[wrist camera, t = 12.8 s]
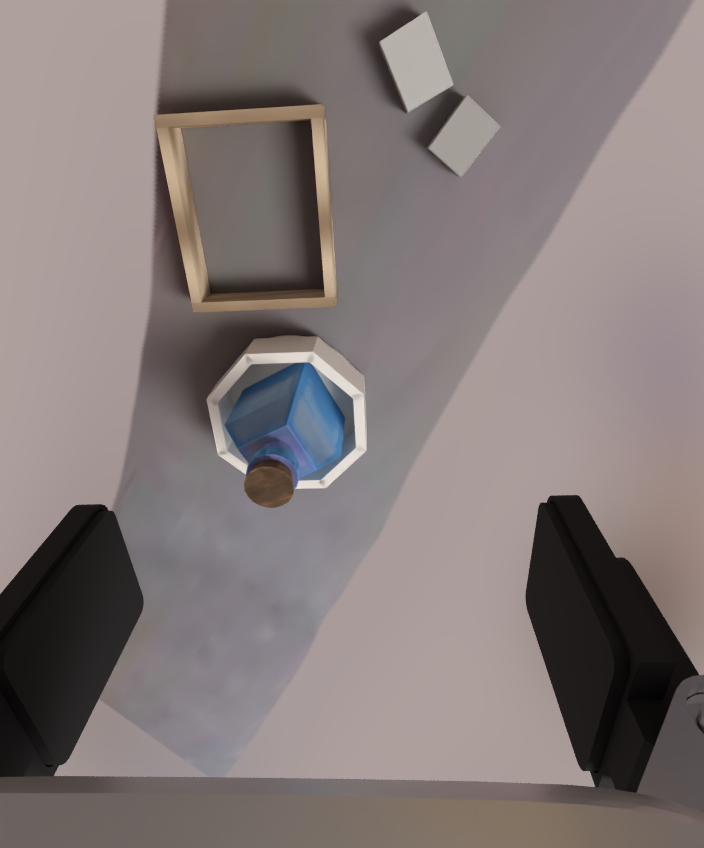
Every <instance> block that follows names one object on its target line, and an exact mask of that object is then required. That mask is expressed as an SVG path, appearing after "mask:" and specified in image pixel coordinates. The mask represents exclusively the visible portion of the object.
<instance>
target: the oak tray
mask: <svg viewBox="0 0 704 848" xmlns="http://www.w3.org/2000/svg"><path fill="white" fill-rule="evenodd" d="M154 119H155V124H156V129H157V134H158V138H159V143H160V148H161V153H162V158H163V163H164V168H165V173H166V178H167V183H168V188H169V193H170V198H171V203H172V208H173V213H174V218H175V223H176V228H177V233H178V238H179V243H180V247H181V252H182V257H183V262H184V267H185V272H186V277H187V282H188V287H189V292H190V297H191V302H192V307H193V312H218V311H242V310H267V309H291V308H315V307H335V306H336V302H337V298H338V297H337V282H336V267H335V252H334V236H333V221H332V206H331V191H330V175H329V160H328V145H327V129H326V114H325V107H324V106H323V105H322V104H318V105H303V106H287V107H272V108H256V109H240V110H225V111H209V112H193V113H178V114H162V115H154ZM310 120H311V124H312V137H313V150H314V162H315V175H316V188H317V201H318V214H319V227H320V240H321V253H322V266H323V279H324V289H311V290H288V291H265V292H241V293H218V294H211V292H210V287H209V281H208V276H207V270H206V265H205V259H204V254H203V248H202V243H201V237H200V232H199V226H198V221H197V215H196V210H195V204H194V199H193V193H192V188H191V182H190V177H189V172H188V166H187V161H186V155H185V150H184V144H183V139H182V133H181V129H182V128H198V127H214V126H230V125H246V124H262V123H278V122H294V121H310Z"/></svg>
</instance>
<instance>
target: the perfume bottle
mask: <svg viewBox="0 0 704 848" xmlns="http://www.w3.org/2000/svg"><path fill="white" fill-rule="evenodd" d="M344 424H345V417H344V415H343V413H342V412H341V410H340V408H339V407H338V405H337V404H336V402H335V400H334V399H333V397H332V395H331V394H330V392H329V391H328V389H327V387H326V386H325V384H324V383H323V381H322V379H321V378H320V376H319V374H318V373H317V371H316V370H315V368H314V366H313V365H312V364H311V363H310V362H302V363H294V364H292V365H290V366H288V367H286V368H284V369H282V370H280V371H278V372H276V373H274V374H272V375H270V376H268V377H267V378H265V379H263V380H261V381H259V382H257V383H255V384H253V385H251V386H249V387H247V388H245V389H243V391H242V393H241V395H240V397H239V399H238V400H237V402H236V404H235V406H234V408H233V410H232V412H231V413H230V415H229V417H228V419H227V421H226V423H225V425H224V426H225V428H226V429H227V431H228V433H229V435H230V436H231V438H232V440H233V442H234V444H235V445H236V447H237V449H238V450H239V452H240V453H241V454H242V456H243V457H244V458H245V460H246V461H247V462H248V467H247V471H246V478H245V482H244V488H245V492H246V494H247V496H248V497H249V498H250V499H251V500H252V501H253V502H254V503H256V504H258V505H260V506H263V507H267V508H276V507H280V506H283V505H284V504H286V503H287V502H289V500H290V499H291V498H292V496H293V492H294V490H295V488H296V487H297V484H298V481H299V478H300V477H302V476H305V475H307V474H309V473H311V472H314V471H316V470H318V469H320V468H322V467H323V466H325V465H327V464H329V463H331V462H332V461H334V460H336V459H338V458H339V457H341V452H342V442H343V433H344Z"/></svg>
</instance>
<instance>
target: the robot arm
mask: <svg viewBox="0 0 704 848" xmlns="http://www.w3.org/2000/svg"><path fill="white" fill-rule="evenodd" d="M526 605H527V610H528V613H529V616H530V619H531V623H532V626H533V629H534V632H535V635H536V637H537V641H538V644H539V647H540V650H541V653H542V656H543V659H544V662H545V665H546V668H547V671H548V674H549V677H550V680H551V683H552V686H553V689H554V692H555V695H556V698H557V701H558V704H559V707H560V711H561V714H562V717H563V719H564V723H565V726H566V729H567V732H568V735H569V738H570V741H571V744H572V747H573V750H574V753H575V756H576V759H577V762H578V764H579V766H580V768H581V769H582V770H583V771H590V773H591V775H592V778H593V781H594V784H595V787H586V786H574V785H559V784H531V783H504V782H476V781H475V782H474V781H422V780H421V781H420V780H366V779H363V780H362V779H301V778H300V779H299V778H298V779H297V778H219V777H94V776H92V777H90V776H85V777H84V776H54V774H55V772H56V770H57V768H58V766H59V765H62V764H64V763H65V762H66V761H67V760H68V759H69V757H70V755H71V753H72V751H73V749H74V747H75V745H76V743H77V741H78V739H79V737H80V735H81V733H82V731H83V729H84V727H85V725H86V723H87V721H88V719H89V717H90V715H91V713H92V711H93V709H94V707H95V705H96V703H97V701H98V699H99V697H100V695H101V693H102V691H103V689H104V687H105V685H106V683H107V681H108V679H109V677H110V675H111V673H112V671H113V669H114V667H115V665H116V663H117V661H118V659H119V657H120V655H121V653H122V651H123V649H124V647H125V645H126V643H127V641H128V639H129V637H130V635H131V633H132V631H133V629H134V627H135V625H136V623H137V621H138V619H139V617H140V615H141V612H142V609H143V595H142V592H141V589H140V586H139V583H138V580H137V577H136V574H135V571H134V568H133V565H132V563H131V560H130V557H129V554H128V551H127V548H126V545H125V542H124V539H123V536H122V533H121V530H120V527H119V524H118V521H117V518H116V516H115V514H114V512H113V511H108V509H107V507H106V506H105V505H101V504H98V505H97V504H96V505H76V506H74V507H73V508H72V509H71V510H70V511H69V512H68V513H67V515H66V516H65V517H64V518H63V520H62V521H61V522H60V523H59V524H58V526H57V527H56V528H55V529H54V530H53V532H52V533H51V534H50V535H49V536H48V538H47V539H46V540H45V541H44V543H43V544H42V545H41V546H40V547H39V548H38V550H37V551H36V552H35V553H34V554H33V556H32V557H31V558H30V559H29V560H28V562H27V563H26V564H25V565H24V566H23V568H22V569H21V570H20V571H19V572H18V574H17V575H16V576H15V577H14V579H13V580H12V581H11V582H10V583H9V585H8V586H7V587H6V588H5V589H4V590H3V592H2V593H1V594H0V848H704V675H699V674H698V672H697V670H696V669H695V667H694V666H693V664H692V662H691V661H690V659H689V657H688V656H687V654H686V652H685V651H684V649H683V648H682V646H681V644H680V643H679V641H678V640H677V638H676V636H675V635H674V633H673V632H672V630H671V628H670V626H669V625H668V623H667V621H666V620H665V618H664V617H663V615H662V613H661V612H660V610H659V608H658V607H657V605H656V604H655V602H654V600H653V599H652V597H651V596H650V594H649V592H648V591H647V589H646V587H645V586H644V584H643V583H642V581H641V579H640V577H639V576H638V575H637V573H636V571H635V569H634V568H633V566H632V565H631V564H630V562H629V561H628V560H626V559H625V558H616V557H615V555H614V554H613V552H612V550H611V549H610V547H609V545H608V543H607V542H606V540H605V538H604V537H603V535H602V533H601V532H600V530H599V528H598V526H597V525H596V523H595V521H594V520H593V518H592V516H591V514H590V513H589V511H588V509H587V508H586V506H585V504H584V503H583V501H582V499H581V498H580V497H579V496H577V495H566V496H564V495H563V496H550V497H549V498H548V501H547V503H540V505H539V508H538V515H537V522H536V528H535V536H534V542H533V548H532V555H531V561H530V568H529V575H528V582H527V588H526Z"/></svg>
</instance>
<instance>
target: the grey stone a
mask: <svg viewBox="0 0 704 848" xmlns="http://www.w3.org/2000/svg"><path fill="white" fill-rule="evenodd" d="M379 47H380V50H381V52H382V54H383V57H384V59H385V62H386V64H387V67H388V69H389V71H390V74H391V76H392V79H393V81H394V84H395V86H396V88H397V91H398V93H399V96H400V98H401V101H402V103H403V105H404V108H405V110H406V113H409V112H410V111H412V110H414V109H415V108H417V107H419V106H420V105H422V104H424V103H425V102H427V101H429V100H430V99H432V98H434V97H435V96H437V95H439V94H440V93H442V92H444V91H445V90H447V89H449V88H450V87H451V86H453V85H454V84H453V82H452V79H451V76H450V74H449V71H448V68H447V65H446V63H445V60H444V57H443V55H442V52H441V49H440V46H439V44H438V41H437V38H436V35H435V33H434V30H433V27H432V25H431V22H430V19H429V16H428V14H427V11H426V12H425V13H423V14H421V15H420V16H418V17H417V18H415V19H414V20H412V21H411V22H409V23H408V24H406V25H405V26H403V27H401V28H400V29H398V30H397V31H395V32H394V33H392V34H391V35H389V36H388V37H386V38H385V39H383V40H381V41H380V43H379Z"/></svg>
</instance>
